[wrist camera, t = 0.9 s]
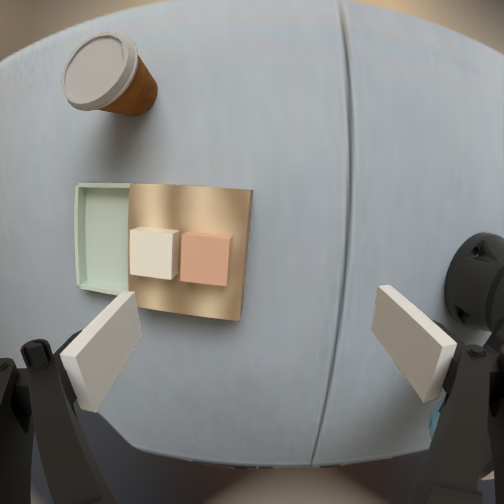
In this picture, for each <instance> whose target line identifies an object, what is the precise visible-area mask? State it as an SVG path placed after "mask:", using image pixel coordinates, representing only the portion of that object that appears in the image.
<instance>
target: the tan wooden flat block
mask: <svg viewBox="0 0 504 504" xmlns="http://www.w3.org/2000/svg"><path fill="white" fill-rule="evenodd" d="M252 195H253V190H244V189H232V188H219V187H204V186H187V185H167V184H137V183H130V189H129V208H128V291H129V292H135V295H136V302H137V307H141V308H147V309H153V310H160V311H166V312H173V313H179V314H186V315H194V316H201V317H209V318H217V319H225V320H234V321H239V320H240V316H241V311H242V306H243V296H244V285H245V273H246V262H247V251H248V239H249V228H250V217H251V206H252ZM137 227H145V228H157V229H169V230H179V253H178V274H177V275H176V276H175V277H174V278H173V279H172V280H169V279H161V278H153V277H146V276H138V275H131V274H130V230H131V229H134V228H137ZM187 231H192V232H203V233H214V234H225V235H233V238H232V250H231V264H230V277H229V281H228V284H227V286H219V285H210V284H201V283H193V282H185V281H180V268H181V241H182V234H184V233H186V232H187Z"/></svg>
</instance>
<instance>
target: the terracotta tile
mask: <svg viewBox="0 0 504 504" xmlns="http://www.w3.org/2000/svg"><path fill="white" fill-rule="evenodd" d="M232 238H233V235H225V234H214V233H203V232H192V231H187V232H186V233H184V234H182V241H181V268H180V281H185V282H193V283H201V284H210V285H219V286H227V284H228V281H229V277H230V264H231V250H232Z"/></svg>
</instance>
